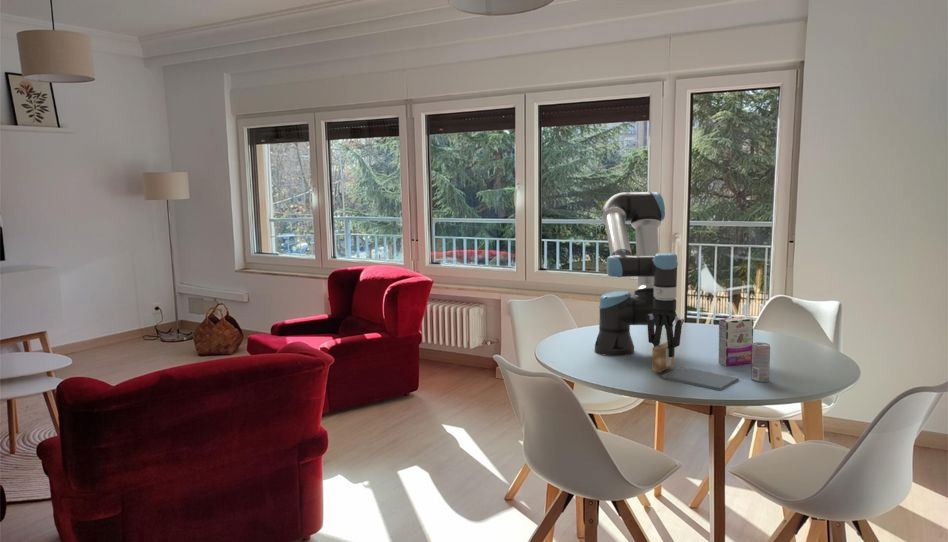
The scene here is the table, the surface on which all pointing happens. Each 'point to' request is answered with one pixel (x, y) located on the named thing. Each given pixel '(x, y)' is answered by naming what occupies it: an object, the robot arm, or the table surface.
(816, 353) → the table surface
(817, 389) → the table surface
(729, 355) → the candy bar box
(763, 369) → the energy drink
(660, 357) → the slab
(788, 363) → the table surface
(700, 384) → the mat
